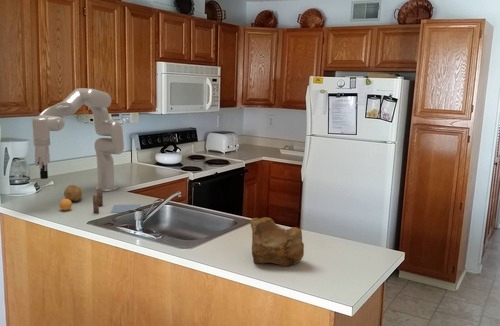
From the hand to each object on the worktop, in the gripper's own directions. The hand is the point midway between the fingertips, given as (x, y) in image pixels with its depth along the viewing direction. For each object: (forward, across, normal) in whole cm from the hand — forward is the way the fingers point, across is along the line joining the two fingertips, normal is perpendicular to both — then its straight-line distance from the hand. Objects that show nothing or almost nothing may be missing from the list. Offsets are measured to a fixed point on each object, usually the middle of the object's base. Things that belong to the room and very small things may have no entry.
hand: (44, 178), depth 236 cm
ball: (+14, 0, +10) cm, 17 cm away
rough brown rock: (+17, +78, +101) cm, 128 cm away
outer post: (+17, +6, +26) cm, 31 cm away
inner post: (+17, -7, +26) cm, 31 cm away
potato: (+17, -19, +10) cm, 27 cm away
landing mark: (+17, 0, +40) cm, 43 cm away
